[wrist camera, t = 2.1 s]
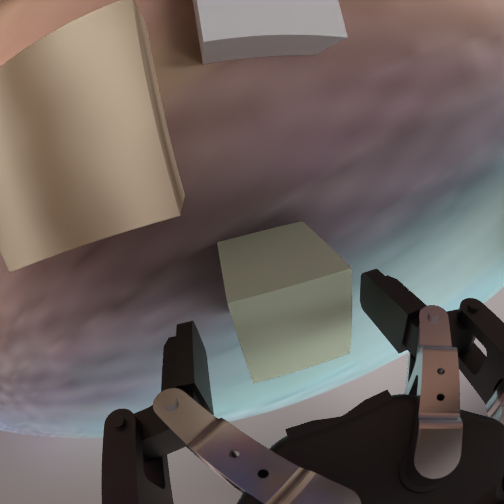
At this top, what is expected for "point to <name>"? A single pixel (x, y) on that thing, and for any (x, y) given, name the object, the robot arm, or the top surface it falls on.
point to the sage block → (287, 299)
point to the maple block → (83, 138)
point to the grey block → (266, 28)
